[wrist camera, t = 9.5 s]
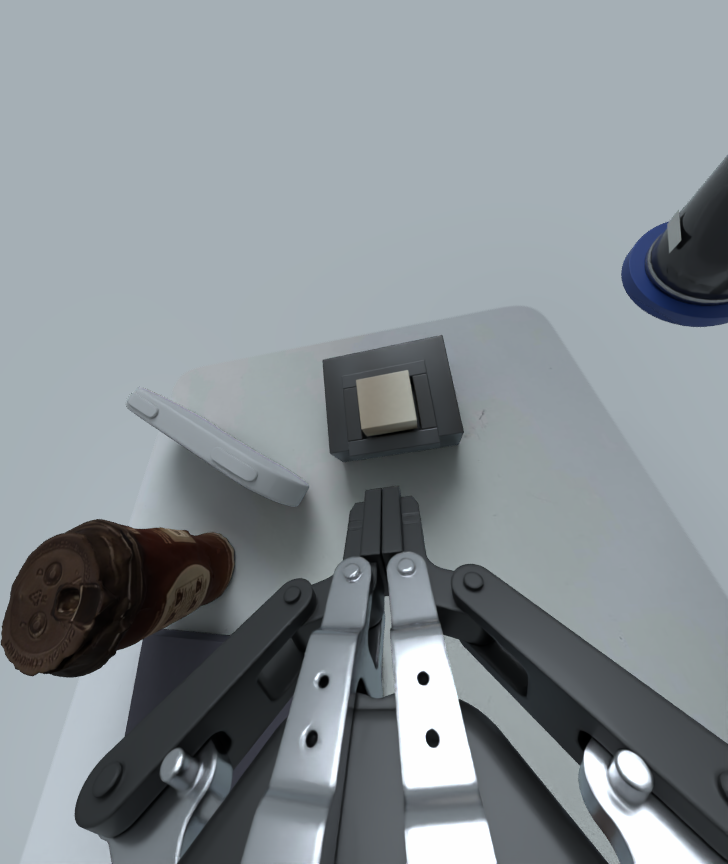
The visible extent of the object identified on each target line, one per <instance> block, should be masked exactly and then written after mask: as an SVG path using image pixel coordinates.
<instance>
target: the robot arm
mask: <svg viewBox="0 0 728 864" xmlns="http://www.w3.org/2000/svg"><path fill="white" fill-rule="evenodd" d="M645 270H646V273H647V276H648V278H649V279H650V281H651V282H652V284H653V285H654V286H655V287H656V288H657V289H658V290H660V291H661V292H662V293H664V294H666V295H667V296H669V297H671V298H673V299H675V300H678V301H681V302H684V303H688V304H693V305H700V306H717V305H724V304H728V155H727V156H726V157H725V159H724V160H723V161H722V162H721V164H720V165H719V166H718V167H717V168H716V170H715V171H714V172H713V173H712V174H711V176H710V177H709V178H708V179H707V181H706V182H705V183H704V184H703V185H702V186H701V188H700V189H699V190H698V191H697V193H696V194H695V195H694V196H693V197H692V199H691V200H690V201H689V202H688V203H687V205H686V206H685V207H684V208H683V209H682V210H681V212H680V213H679V210H678V211H677V212H676V214H675V215H674V216H673V217H672V219H671V220H670V221H669V222H668V224H667V228H666V230H665V231H664V232H663V233H662V234H661V235H660V236H659V237H658V238H657V239H656V240H655V241H654V243H653V244H652V245H651V246H650V248H649V249H648V251H647V253H646V256H645ZM384 596H389V600H390V611H391V622H392V628H391V629H390V639H391V651H392V663H393V675H394V686H395V693H393V694H391V695H388V696H385V697H383V688H382V678H381V672H382V657H383V643H384V629H385V612H384ZM443 635H446V636H450V637H453V638H456V639H459V640H460V642H461V643H462V645H463V646H464V647H465V648H466V649H467V650H468V651H469V652H470V653H471V654H472V655H473V656H474V657H475V658H476V659H477V660H478V661H479V662H480V663H481V664H482V665H483V666H484V667H485V669H486V670H487V671H488V672H489V673H490V674H491V675H492V676H493V677H494V678H495V679H496V680H497V681H498V682H499V683H500V684H501V685H502V686H503V687H504V688H505V689H506V690H507V691H508V692H509V693H510V694H511V695H512V696H513V697H514V698H515V699H516V700H517V701H518V702H519V703H520V704H521V705H522V707H523V708H524V709H525V710H526V711H527V712H528V713H529V714H530V715H531V716H532V717H533V718H534V719H535V720H536V721H537V722H538V723H539V724H540V725H541V726H542V727H543V728H544V729H545V730H546V731H547V732H548V733H549V734H550V735H551V736H552V737H553V738H554V739H555V740H556V741H557V742H558V743H559V745H560V746H561V747H562V748H563V749H564V750H565V751H566V752H567V753H568V754H569V755H570V756H571V757H572V758H573V759H574V760H575V761H576V762H577V763H578V764H579V765H580V768H579V774H578V781H579V788H580V792H581V795H582V798H583V801H584V803H585V805H586V807H587V809H588V811H589V813H590V815H591V816H592V818H593V819H594V821H595V822H596V824H597V825H598V826H599V828H600V829H601V830H602V832H603V833H604V834H605V836H606V837H607V839H608V840H609V842H610V843H611V845H612V847H613V849H614V851H615V853H616V855H617V857H618V859H619V862H620V864H728V744H727V743H726V742H724V741H723V740H722V739H720V738H719V737H717V736H716V735H715V734H713V733H712V732H711V731H709V730H708V729H706V728H705V727H704V726H702V725H701V724H700V723H698V722H697V721H695V720H694V719H693V718H691V717H690V716H688V715H687V714H686V713H684V712H683V711H682V710H680V709H679V708H677V707H676V706H675V705H673V704H672V703H671V702H669V701H668V700H666V699H665V698H664V697H662V696H661V695H660V694H658V693H657V692H655V691H654V690H653V689H651V688H650V687H649V686H647V685H646V684H644V683H643V682H642V681H640V680H639V679H637V678H636V677H635V676H633V675H632V674H631V673H629V672H628V671H626V670H625V669H624V668H622V667H621V666H620V665H618V664H617V663H615V662H614V661H613V660H611V659H610V658H609V657H607V656H606V655H604V654H603V653H602V652H600V651H599V650H598V649H596V648H595V647H593V646H592V645H591V644H589V643H588V642H586V641H585V640H584V639H582V638H581V637H580V636H578V635H577V634H575V633H574V632H573V631H571V630H570V629H569V628H567V627H566V626H564V625H563V624H562V623H560V622H559V621H558V620H556V619H555V618H553V617H552V616H551V615H549V614H548V613H547V612H545V611H544V610H542V609H541V608H540V607H538V606H537V605H535V604H534V603H533V602H531V601H530V600H529V599H527V598H526V597H524V596H523V595H522V594H520V593H519V592H518V591H516V590H515V589H513V588H512V587H511V586H509V585H508V584H507V583H505V582H504V581H502V580H501V579H500V578H498V577H497V576H496V575H494V574H493V573H491V572H490V571H489V570H487V569H486V568H484V567H482V566H479V565H475V564H465V565H462V566H460V567H458V568H457V569H456V570H455V571H452V570H447V569H443V568H440V567H437V566H436V565H434V564H433V563H432V562H430V560H429V559H428V558H427V556H426V550H425V543H424V536H423V529H422V524H421V518H420V512H419V506H418V503H417V501H416V500H415V499H414V498H413V496H406V497H401V493H400V488H399V486H392V487H385V488H383V490H382V488H378V489H370V490H366V491H365V501H364V502H359V503H355V505H354V506H353V508H352V509H351V511H350V515H349V523H348V531H347V536H346V543H345V550H344V557H343V561H342V562H341V563H340V564H339V565H338V566H337V567H336V569H335V571H334V574H333V575H332V576H331V577H329V578H327V579H325V580H323V581H320V582H318V583H315V584H313V585H311V584H310V582H309V581H307V580H306V579H302V578H297V579H293V580H291V581H289V582H287V583H285V584H284V585H283V586H282V587H281V588H280V589H279V590H278V591H277V592H276V593H275V594H274V595H272V596H271V597H270V598H269V599H268V600H267V601H266V602H265V603H264V604H263V605H262V606H261V607H260V608H259V609H258V610H257V611H256V612H255V613H254V614H253V615H252V616H251V617H249V618H248V619H247V620H246V621H245V622H244V623H243V624H242V625H241V626H240V627H239V628H238V629H237V630H236V631H235V632H234V633H233V634H232V635H231V636H230V637H229V638H228V639H226V640H225V641H224V642H223V643H222V644H221V645H220V646H219V647H218V648H217V649H216V650H215V651H214V652H213V653H212V654H211V655H210V656H209V657H208V658H207V659H206V660H205V661H203V662H202V663H201V664H200V665H199V666H198V667H197V668H196V669H195V670H194V671H193V672H192V673H191V674H190V675H189V676H188V677H187V678H186V679H185V680H184V681H183V682H182V683H180V684H179V685H178V686H177V687H176V688H175V689H174V690H173V691H172V692H171V693H170V694H169V695H168V696H167V697H166V698H165V699H164V700H163V701H162V702H161V703H160V704H159V705H157V706H156V707H155V708H154V709H153V710H152V711H151V712H150V713H149V714H148V715H147V716H146V717H145V718H144V719H143V720H142V721H141V722H140V723H139V724H138V725H137V726H136V727H135V728H133V729H132V730H131V731H130V732H129V733H128V734H127V735H126V736H125V737H124V738H123V739H122V740H121V741H120V742H119V743H118V744H117V745H116V746H115V747H114V748H113V749H112V750H110V751H109V752H108V753H107V754H106V755H105V756H104V757H103V758H102V759H101V760H100V762H99V763H98V764H97V765H96V766H95V768H94V769H93V770H92V772H91V773H90V775H89V776H88V778H87V780H86V781H85V783H84V785H83V787H82V789H81V791H80V794H79V796H78V799H77V802H76V807H75V820H76V823H77V824H78V826H80V827H82V828H84V829H86V830H89V831H91V832H93V833H96V834H98V835H99V837H100V838H101V839H103V840H105V841H107V842H108V844H109V849H110V855H111V862H112V864H609V863H608V862H607V861H606V860H605V859H604V857H603V856H602V855H601V854H600V852H599V851H598V850H597V849H596V847H595V846H594V845H593V844H592V843H591V841H590V840H589V839H588V838H587V836H586V835H585V834H584V833H583V832H582V830H581V829H580V828H579V827H578V825H577V824H576V823H575V822H574V820H573V819H572V818H571V817H570V816H569V814H568V813H567V812H566V811H565V809H564V808H563V807H562V806H561V804H560V803H559V802H558V801H557V800H556V798H555V797H554V796H553V795H552V793H551V792H550V791H549V790H548V789H547V787H546V786H545V785H544V784H543V782H542V781H541V780H540V779H539V777H538V776H537V775H536V774H535V773H534V771H533V770H532V769H531V768H530V766H529V765H528V764H527V763H526V761H525V760H524V759H523V758H522V757H521V755H520V754H519V753H518V752H517V750H516V749H515V748H514V747H513V746H512V744H511V743H510V742H509V741H508V739H507V738H506V737H505V736H504V734H503V733H502V732H501V731H500V730H499V728H498V727H497V726H496V725H495V724H494V723H493V722H492V721H491V720H490V719H489V718H488V717H487V716H486V715H484V714H483V713H482V712H481V711H479V710H478V709H477V708H475V707H473V706H472V705H470V704H469V703H467V702H464V701H462V700H460V699H458V697H457V692H456V688H455V684H454V679H453V675H452V671H451V666H450V662H449V658H448V653H447V649H446V645H445V641H444V636H443ZM293 695H294V696H293ZM292 696H293V700H292V703H291V707H290V711H289V715H288V717H287V718H286V719H285V720H284V721H283V722H282V723H281V724H280V725H279V726H278V727H277V729H276V730H275V731H274V733H273V734H272V735H271V737H270V738H269V739H268V741H267V742H266V743H265V745H264V746H263V748H262V749H261V750H260V752H259V753H258V754H257V756H256V757H255V758H254V760H253V761H252V762H251V764H250V765H249V767H248V768H247V769H246V771H245V772H244V773H243V775H242V776H241V777H240V779H239V780H238V781H237V783H236V784H235V786H234V787H233V788H232V790H231V791H230V788H231V783H232V777H233V770H234V769H235V768H236V767H237V765H238V764H239V763H240V762H241V760H242V759H243V758H244V757H245V755H246V754H247V753H248V751H249V750H250V749H251V748H252V746H253V745H254V744H255V743H256V741H257V740H258V739H259V738H260V736H261V735H262V734H263V733H264V731H265V730H266V729H267V728H268V726H269V725H270V724H271V723H272V721H273V720H274V719H275V718H276V716H277V715H278V714H279V712H280V711H281V710H282V709H283V707H284V706H285V705H286V704H287V702H288V701H289V700H290V699H291V697H292Z"/></svg>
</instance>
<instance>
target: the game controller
mask: <svg viewBox="0 0 728 864" xmlns="http://www.w3.org/2000/svg"><path fill="white" fill-rule="evenodd" d="M126 407H127V408H128V409H129V410H130V411H132V412H133V413H134V414H136V415H137V416H139V417H140V418H142V419H143V420H144V421H146V422H147V423H149V424H150V425H152V426H153V427H155V428H156V429H158V430H159V431H161V432H162V433H164V434H165V435H167V436H168V437H170V438H171V439H173V440H174V441H176V442H177V443H179V444H180V445H181V446H183V447H184V448H186V449H187V450H189V451H190V452H192V453H193V454H195V455H196V456H198V457H199V458H201V459H202V460H204V461H205V462H207V463H208V464H210V465H211V466H213V467H214V468H216V469H217V470H219V471H220V472H222V473H223V474H225V475H226V476H228V477H229V478H231V479H232V480H234V481H235V482H237V483H239V484H240V485H242V486H244V487H246V488H247V489H249V490H251V491H253V492H255V493H257V494H259V495H261V496H263V497H265V498H268V499H270V500H272V501H275V502H277V503H280V504H283V505H287V506H298V505H299V504H300V502H301V500H302V499H303V497H304V495H305V494H306V492H307V490H308V488H309V485H308V483H307V482H306V481H304V480H303V479H302V478H300V477H299V476H297V475H296V474H294V473H293V472H291V471H290V470H288V469H286V468H285V467H283V466H281V465H280V464H278V463H276V462H274V461H272V460H271V459H269V458H267V457H265V456H263V455H262V454H260V453H259V452H257V451H255V450H254V449H252V448H250V447H249V446H247V445H245V444H244V443H242V442H241V441H239V440H237V439H236V438H234V437H232V436H231V435H229V434H228V433H226V432H224V431H223V430H221V429H220V428H218V427H217V426H216V425H214V424H213V423H211V422H209V421H208V420H206V419H205V418H203V417H201V416H199V415H198V414H196V413H194V412H192V411H190V410H189V409H187V408H185V407H183V406H181V405H179V404H177V403H175V402H173V401H171V400H169V399H167V398H165V397H163V396H161V395H159V394H157V393H155V392H152V391H150V390H148V389H145V388H142V387H138V388H137V389H136V390H135V391H134V392H133V393H131V394H130V396H129V397H128V399H127V403H126Z"/></svg>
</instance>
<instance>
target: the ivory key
mask: <svg viewBox="0 0 728 864" xmlns="http://www.w3.org/2000/svg"><path fill="white" fill-rule="evenodd" d="M356 387H357V395H358V404H359V413H360V422H361V429H362V431H363V432H364V433H365V435H366V436H367V437H368V436H374V435H380V434H386V433H392V432H398V431H404V430H410V429H416V428H417V418H416V412H415V406H414V401H413V395H412V389H411V383H410V378H409V372H408V370H405V371H400V372H395V373H390V374H385V375H380V376H374V377H369V378H364V379H359V380H356Z"/></svg>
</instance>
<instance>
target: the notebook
mask: <svg viewBox="0 0 728 864" xmlns="http://www.w3.org/2000/svg"><path fill="white" fill-rule="evenodd" d="M229 637H230V635H220V634H210V633H200V632H189V631H179V630H169V629H161V630H160V631H158V632H156V633H154V634H152V635H150V636H148V637H146V638H144V639H143V641H142V647H141V652H140V657H139V663H138V668H137V673H136V679H135V684H134V689H133V695H132V700H131V705H130V711H129V716H128V721H127V727H126V732H125V736H126V735H127V734H128V733H129V732H130V731H131V730H132V729H133V728H135V727H136V726H137V725H138V724H139V723H140V722H141V721H142V720H143V719H144V718H145V717H146V716H147V715H148V714H149V713H150V712H151V711H152V710H153V709H154V708H155V707H156V706H157V705H159V704H160V703H161V702H162V701H163V700H164V699H165V698H166V697H167V696H168V695H169V694H170V693H171V692H172V691H173V690H174V689H175V688H176V687H177V686H178V685H179V684H180V683H182V682H183V681H184V680H185V679H186V678H187V677H188V676H189V675H190V674H191V673H192V672H193V671H194V670H195V669H196V668H197V667H198V666H199V665H200V664H201V663H202V662H203V661H205V660H206V659H207V658H208V657H209V656H210V655H211V654H212V653H213V652H214V651H215V650H216V649H217V648H218V647H219V646H220V645H221V644H222V643H223V642H224V641H225V640H226V639H228V638H229ZM381 678H382V672H381ZM293 696H294V695H293ZM293 696H292V697H291V699H290V700H289V701H288V702H287V704H286V705H285V706H284V707H283V709H282V710H281V711H280V712H279V714H278V715H277V716H276V718H275V719H274V720H273V721H272V723H271V724H270V725H269V726H268V728H267V729H266V730H265V731H264V733H263V734H262V735H261V736H260V738H259V739H258V740H257V741H256V743H255V744H254V745H253V746H252V748H251V749H250V750H249V751H248V753H247V754H246V755H245V757H244V758H243V759H242V760H241V762H240V763H239V764H238V765H237V767H236V768H235V769H234V770H233V777H232V783H231V788H230V791H231V790H232V788H233V787H234V786H235V784H236V783H237V781H238V780H239V779H240V777H241V776H242V775H243V773H244V772H245V771H246V769H247V768H248V767H249V765H250V764H251V762H252V761H253V760H254V758H255V757H256V756H257V754H258V753H259V752H260V750H261V749H262V748H263V746H264V745H265V743H266V742H267V741H268V739H269V738H270V737H271V735H272V734H273V733H274V731H275V730H276V729H277V727H278V726H279V725H280V724H281V723H282V722H283V721H284V720H285V719H286V718H287V717H288V715H289V711H290V707H291V703H292V700H293Z"/></svg>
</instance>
